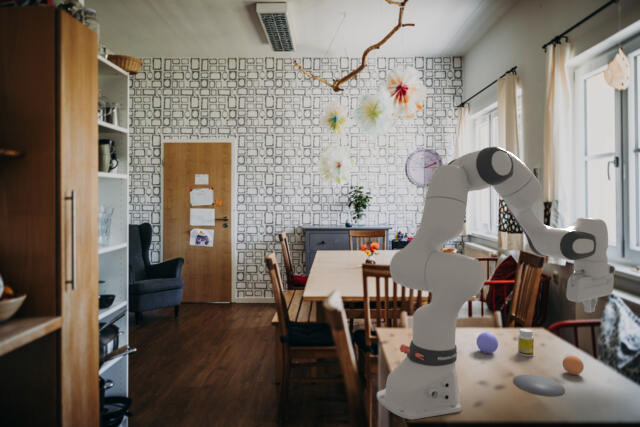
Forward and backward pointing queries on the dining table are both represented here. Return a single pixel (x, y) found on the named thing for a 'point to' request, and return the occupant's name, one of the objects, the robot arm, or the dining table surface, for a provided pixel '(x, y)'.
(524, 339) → the supplement bottle
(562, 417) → the dining table surface
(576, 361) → the ball
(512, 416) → the dining table surface
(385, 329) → the dining table surface
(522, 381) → the slate disc
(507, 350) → the dining table surface
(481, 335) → the sphere
